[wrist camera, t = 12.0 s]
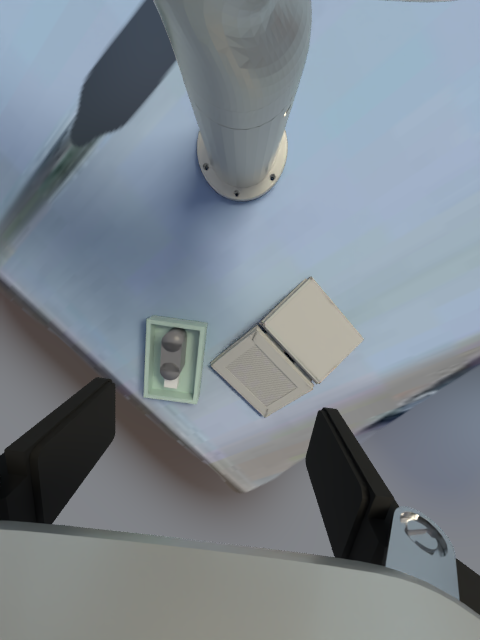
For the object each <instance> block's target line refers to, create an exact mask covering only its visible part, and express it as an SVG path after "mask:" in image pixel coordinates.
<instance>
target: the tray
mask: <svg viewBox="0 0 480 640" xmlns="http://www.w3.org/2000/svg"><path fill="white" fill-rule="evenodd" d="M173 327H177V328H183V329H185V331H186V332H187V347H186V358H185V365H184V367H183V369H182V371H181V373H180V379H179V385H178V387H177V389H175V388H168V387H164V378H163V377H162V376H161V374H160V359H161V342H162V338H163V336H164V335H165V334H166V333H168V332H169V331H170V330H171V329H172V328H173ZM206 331H207V323H204V322H197V321H190V320H183V319H176V318H169V317H162V316H155V315H153V316H151V317H149V318H147V322H146V348H145V374H144V397H145V398H152V399H160V400H168V401H175V402H183V403H190V404H197V402H198V399H199V395H200V386H201V377H202V368H203V359H204V350H205V340H206Z"/></svg>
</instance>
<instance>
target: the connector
mask: <svg viewBox="0 0 480 640" xmlns="http://www.w3.org/2000/svg"><path fill="white" fill-rule="evenodd" d="M186 347H187V332H186V331H185V329H183V328H177V327H173V328H172V329H171V330H170V331H169V332H168V333H166V334H165V335H164V336H163V338H162V342H161V359H160V374H161V376H162V377H163V378H164V387H168V388H175V389H177V387H178V385H179V379H180V373H181V371H182V369H183V367H184V365H185V358H186Z"/></svg>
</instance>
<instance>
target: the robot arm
mask: <svg viewBox="0 0 480 640" xmlns="http://www.w3.org/2000/svg"><path fill="white" fill-rule="evenodd" d="M153 1H154V3H155V5H156V7H157V10H158V12H159V14H160V16H161V18H162V21H163V24H164V26H165V29H166V31H167V34H168V36H169V39H170V41H171V44H172V47H173V50H174V53H175V56H176V59H177V62H178V65H179V68H180V71H181V74H182V77H183V81H184V84H185V87H186V90H187V93H188V96H189V99H190V102H191V105H192V108H193V111H194V114H195V118H196V121H197V124H198V127H199V134H198V140H197V155H198V161H199V165H200V168H201V171H202V173H203V175H204V177H205V179H206V180H207V182H208V183H209V185H210V186H211V187H212V188H213V189H214V190H215V191H216V192H217V193H219V194H220V195H221V196H223V197H225V198H228V199H230V200H234V201H250V200H254V199H256V198H259V197H261V196H263V195H264V194H265V193H267V192H268V191H269V190H270V189H271V188H272V187H273V186H274V185H275V184H276V182H277V181H278V179H279V178H280V176H281V174H282V172H283V169H284V166H285V163H286V158H287V152H288V142H287V136H286V131H285V127H286V123H287V120H288V117H289V114H290V111H291V108H292V104H293V101H294V98H295V95H296V92H297V89H298V85H299V82H300V79H301V76H302V72H303V69H304V66H305V63H306V58H307V54H308V49H309V43H310V34H311V21H312V9H311V0H153ZM386 1H404V2H447V1H456V0H386ZM205 168H208V170H205ZM270 178H273V179H274V180H273V181H272V180H270ZM236 193H237V194H239V195H238V196H237V197H236V196H235V194H236ZM114 436H115V383H112V380H111V379H106V378H99V377H98V378H95V379H94V380H92V381H91V382H90V383H89V384H87V385H86V386H85V387H83V388H82V389H81V390H80V391H78V392H77V393H76V394H74V395H73V396H72V397H71V398H69V399H68V400H67V401H66V402H64V403H63V404H62V405H61V406H59V407H58V408H57V409H55V410H54V411H53V412H52V413H50V414H49V415H48V416H46V417H45V418H44V419H43V420H41V421H40V422H39V423H38V424H36V425H35V426H34V427H33V428H31V429H30V430H29V431H27V432H26V433H25V434H24V435H22V436H21V437H20V438H19V439H17V440H16V441H15V442H13V443H12V444H11V445H10V446H8V447H7V448H6V449H5V452H4V453H3V454H2V455H0V640H480V576H479V575H478V574H477V573H475V572H474V571H473V570H471V569H470V568H469V567H467V566H466V565H464V564H463V563H462V562H460V561H459V560H458V559H456V557H455V552H454V548H453V546H452V544H451V542H450V540H449V539H448V537H447V536H446V535H445V533H444V532H443V531H442V530H441V528H439V527H438V526H437V525H436V524H435V523H434V522H433V521H432V520H431V519H429V518H428V517H426V516H425V515H424V514H422V513H420V512H419V511H417V510H415V509H412V508H409V507H399V506H398V504H397V503H396V501H395V500H394V497H393V496H392V494H391V492H390V491H389V490H388V488H387V486H386V485H385V483H384V482H383V480H382V479H381V477H380V475H379V474H378V472H377V471H376V469H375V468H374V466H373V464H372V463H371V461H370V460H369V458H368V457H367V455H366V454H365V452H364V451H363V449H362V447H361V446H360V444H359V443H358V441H357V440H356V438H355V436H354V435H353V433H352V432H351V430H350V429H349V427H348V426H347V424H346V422H345V421H344V419H343V418H342V416H341V415H340V413H339V412H338V410H337V409H332V408H323V409H322V410H319V411H318V413H317V417H316V421H315V425H314V428H313V432H312V436H311V439H310V443H309V447H308V451H307V454H306V467H307V470H308V473H309V476H310V480H311V483H312V486H313V489H314V492H315V495H316V499H317V502H318V505H319V508H320V512H321V515H322V518H323V521H324V525H325V528H326V531H327V534H328V537H329V541H330V543H331V547H332V550H333V553H334V556H335V557H328V556H320V555H314V554H307V553H298V552H290V551H282V550H273V549H266V548H257V547H249V546H242V545H233V544H225V543H216V542H207V541H199V540H191V539H182V538H173V537H164V536H156V535H147V534H138V533H129V532H120V531H111V530H101V529H93V528H83V527H74V526H65V525H53V524H52V523H53V522H54V520H55V519H56V518H57V516H58V515H59V513H60V512H61V511H62V509H63V508H64V507H65V505H66V504H67V503H68V501H69V499H70V498H71V497H72V496H73V494H74V493H75V492H76V490H77V489H78V487H79V486H80V485H81V483H82V482H83V480H84V479H85V478H86V476H87V475H88V474H89V472H90V471H91V470H92V468H93V467H94V465H95V464H96V463H97V461H98V460H99V459H100V457H101V456H102V455H103V453H104V452H105V450H106V449H107V448H108V446H109V445H110V443H111V442H112V440H113V439H114Z"/></svg>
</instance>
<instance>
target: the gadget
mask: <svg viewBox="0 0 480 640" xmlns="http://www.w3.org/2000/svg"><path fill="white" fill-rule="evenodd" d="M259 324H260V325H261V326H262V327H263V328H264V329H265V330H266V331H267V332H266V333H264V331H263V330H262V329H261V328H260V327H259V326H258V325H256V326H255V327H254V328H252V329H251V330H250V331H249V332H247V333H246V334H245V335H244V336H242V337H241V338H240V339H239V340H237V341H236V342H235V343H234V344H232V345H231V346H230V347H228V348H227V349H226V350H225V351H223V352H222V353H221V354H220V355H218V356H217V357H216V358H215V359H214V360H213V361H212V362H210V363H211V367H212V368H213V369H214V370H216V371H217V372H218V373H219V374H220V375H221V376H222V377H223V378H224V379H225V380H226V381H227V382H228V383H229V384H230V385H231V386H232V387H233V388H234V389H235V390H236V391H238V392H239V393H240V394H241V395H242V396H243V397H244V398H245V399H246V400H247V401H248V402H249V403H250V404H251V405H252V406H253V407H254V408H255V409H256V410H257V411H258V412H260V413H261V414H262V415H263V416H264V417H267V416H269V415H270V414H272V413H274V412H275V411H277V410H279V409H281V408H282V407H284V406H286V405H287V404H289V403H291V402H292V401H294V400H296V399H298V398H299V397H301V396H303V395H304V394H306V393H308V392H310V391H311V390H313V387H314V384H313V383H312V382H311V381H312V380H313V381H314V382H315V383H316V384H317V383H318V384H320V383H321V382H322V381H323V380H324V379H325V378H326V377H327V376H328V375H329V374H330V373H331V372H332V371H333V370H334V369H335V368H336V367H337V366H338V365H339V364H340V363H341V362H342V361H343V360H344V359H345V358H346V357H347V356H348V355H349V354H350V353H351V352H352V351H353V350H354V349H355V348H356V347H357V346H358V345H359V344H360V343H361V342H362V341H363V340H364V339H363V337H362V336H361V335H360V334H359V333H358V331H357V330H356V329H355V328H354V327H353V325H352V324H351V323H350V322H349V321H348V320H347V318H346V317H345V316H344V315H343V314H342V312H341V311H340V310H339V309H338V308H337V306H336V305H335V304H334V303H333V302H332V300H331V299H330V298H329V297H328V296H327V295H326V293H325V292H324V291H323V290H322V289H321V287H320V286H319V285H318V284H317V283H316V281H315V280H314V279H313V278H312V277H309V278H308V279H305V280H304V281H302V282H301V283H300V284H299V285H298V286H297V287H296V288H295V289H294V290H292V291H291V292H290V293H289V294H288V295H287V296H286V297H285V298H284V299H283V300H282V301H281V302H280V303H279V304H278V305H277V306H276V307H275V308H274V309H273V310H272V311H271V312H270V313H269V314H268V315H267V316H266V317H265V318H264V319H263V320H262V321H261V322H260V323H259ZM285 351H286V352H287V353H288V355H289V356H290V357H291V358H292V359H293V360H294V362H292V361H291V360H290V359H289V358H288V357H287V356H286V355H285V354H284V352H285Z"/></svg>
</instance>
